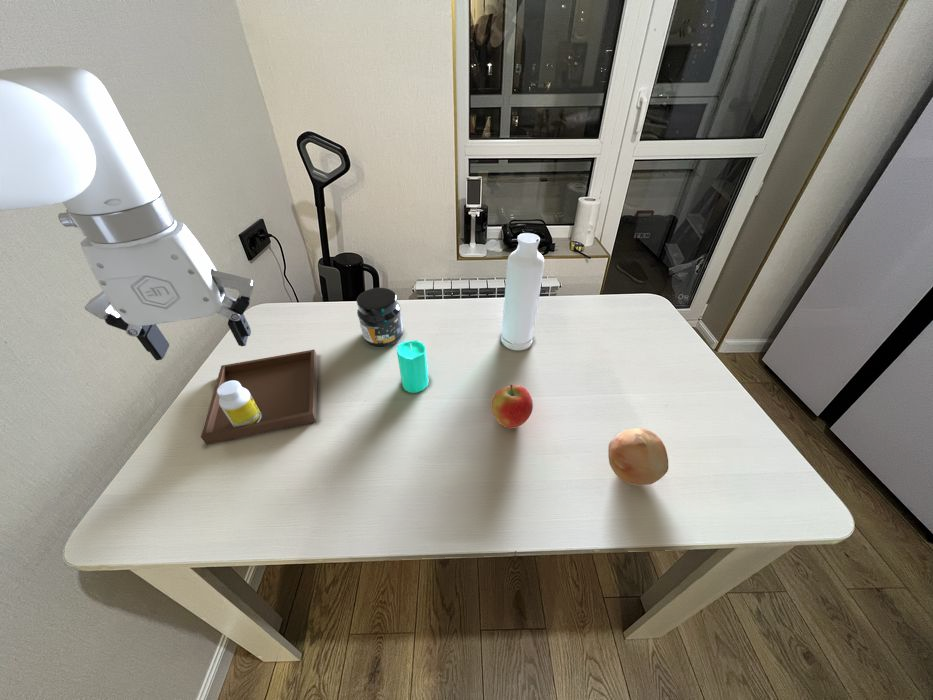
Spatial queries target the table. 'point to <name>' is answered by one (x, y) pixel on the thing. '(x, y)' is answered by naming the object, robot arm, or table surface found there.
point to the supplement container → (379, 317)
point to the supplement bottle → (238, 404)
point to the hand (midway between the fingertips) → (204, 346)
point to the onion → (638, 456)
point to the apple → (512, 406)
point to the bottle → (522, 292)
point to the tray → (267, 395)
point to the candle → (413, 365)
